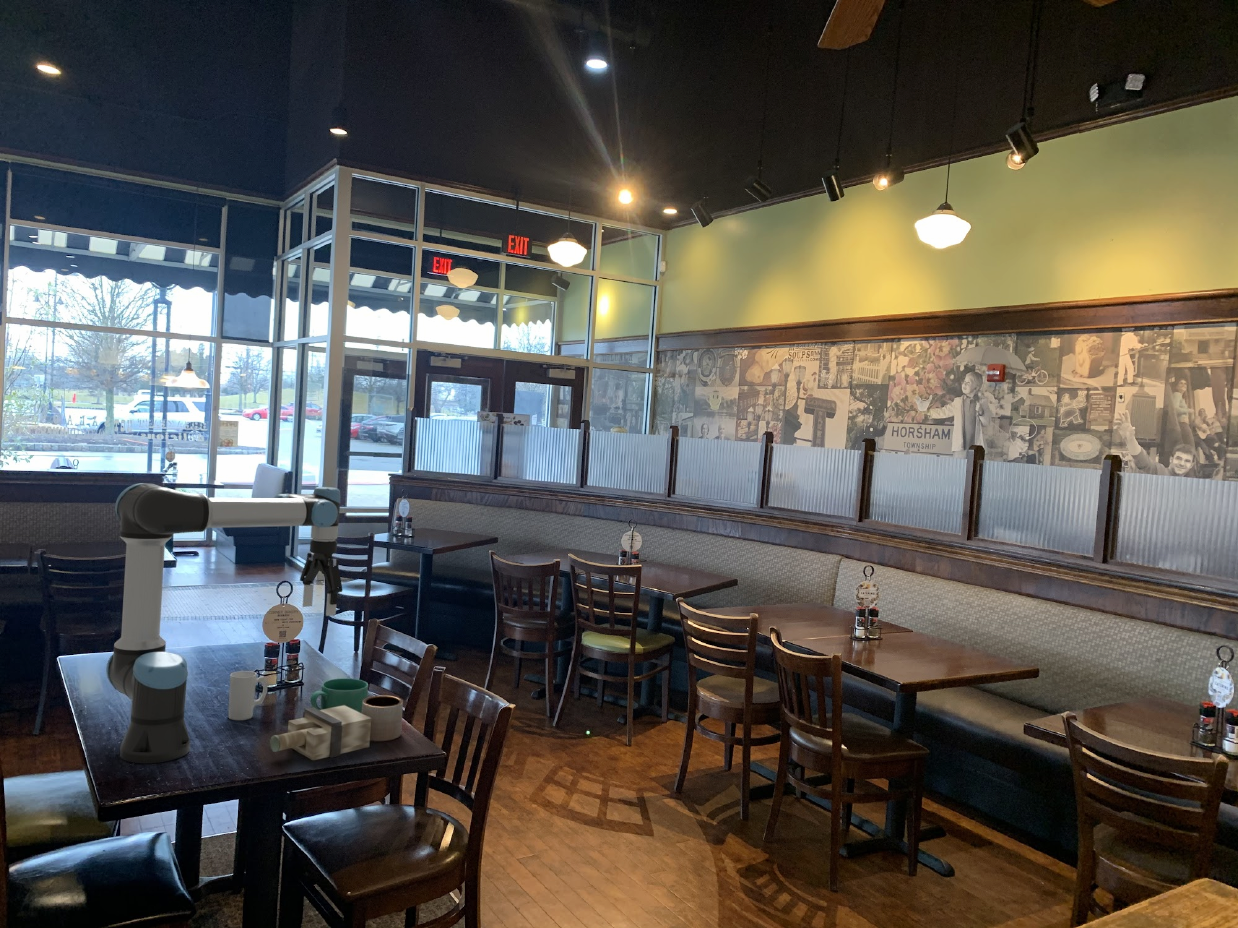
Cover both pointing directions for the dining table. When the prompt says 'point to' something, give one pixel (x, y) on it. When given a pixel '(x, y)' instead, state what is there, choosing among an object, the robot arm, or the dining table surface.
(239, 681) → the mug
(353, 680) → the mug
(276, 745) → the dowel
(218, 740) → the dining table surface
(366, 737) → the sleeve block
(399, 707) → the planter
